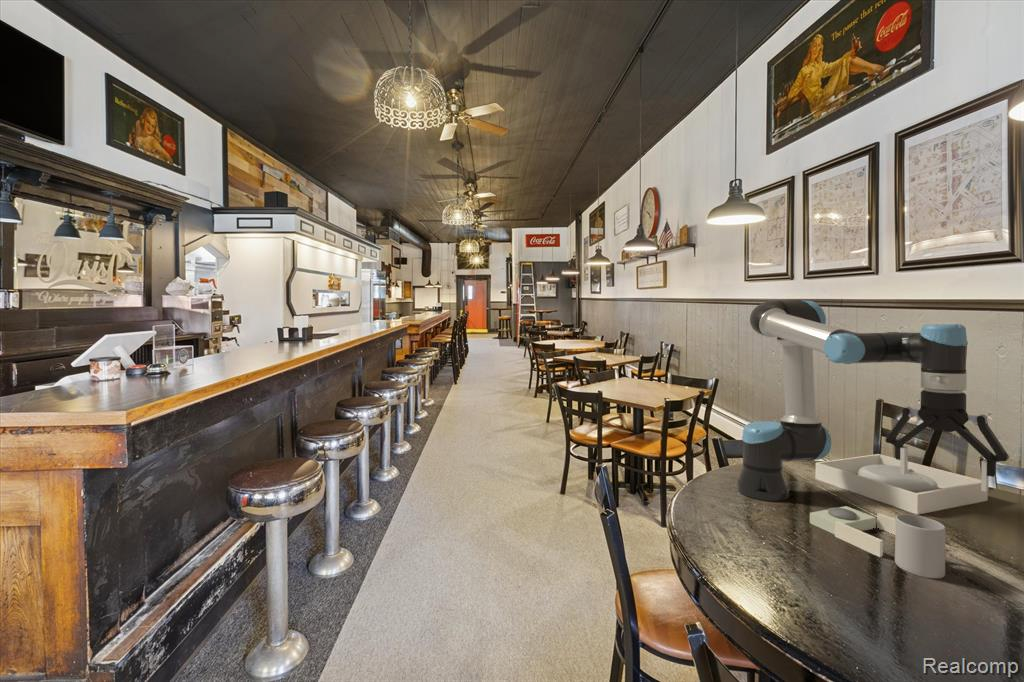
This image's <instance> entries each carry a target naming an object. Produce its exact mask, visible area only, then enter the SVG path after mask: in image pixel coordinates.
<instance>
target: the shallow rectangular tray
mask: <svg viewBox="0 0 1024 682" xmlns="http://www.w3.org/2000/svg"><path fill="white" fill-rule="evenodd" d="M867 465H891V466H898V467H900V460H897V459H896V458H895V457H892V456H888V455H884V454H881V453H880V454H879V453H875V454H868V455H861V456H854V457H847V458H841V459H833V460H826V461H818V462H815V478H814V479H815V480H817V481H820V482H823V483H825V484H829V485H832V486H834V487H836V488H840V489H843V490H845V489H846V491H848V490H849V491H848V492H852V493H855V494H857V495H860V496H863V497H866V498H869V499H872V500H875V501H877V502H881V503H882V504H886V505H889V506H892V507H894V508H897V509H899V510H904V511H905V512H908V513H911V514H913V515H918V516H919V515H922V514H927V513H932V512H938V511H942V510H948V509H953V508H957V507H962V506H968V505H973V504H978V503H982V502H988V495H989V494H988V492H989V489H988V490H987V491H986V492H985V491H981V479H980V478H974V477H970V476H966V475H963V474H958V473H954V472H951V471H948V470H943V469H939V468H935V467H931V466H927V465H923V464H920V463H915V462H912V461H908V469H912V470H913V471H914V472H916V473H919V474H922V475H925V476H927V477H930V478H931V479H933V480H934V481H935V482H936V483H937V485H938V489H937V490H932V491H926V492H921V493H914V492H911V491H908V490H904V489H901V488H898V487H895V486H891V485H888V484H885V483H882V482H879V481H875V480H872V479H869V478H866V477H862V476H859V475H858V471H859V470H860V468H862V467H864V466H867Z"/></svg>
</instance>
